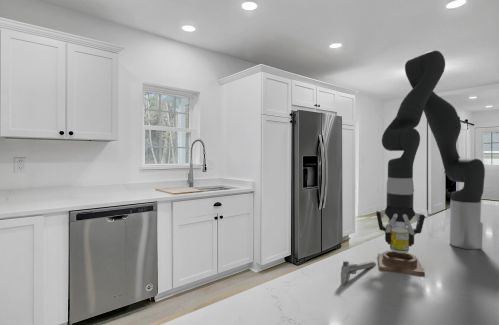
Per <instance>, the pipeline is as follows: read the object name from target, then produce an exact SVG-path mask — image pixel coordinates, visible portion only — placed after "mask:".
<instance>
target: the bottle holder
mask: <svg viewBox="0 0 499 325" xmlns="http://www.w3.org/2000/svg"><path fill="white" fill-rule="evenodd" d="M377 261H378V266H379V267H378V268H379V271H387V272H393V273H400V274H401V273H402V274H410V275H415V276H416V275H417V276H422V277H423V276H425V273H426V272H425V270H424V268H423V266H422V264H421V262H420V260H419V258H418V257H417V256H416V255H414V254H412V253H410V252H407V253H397V252H394V251H392V250H385V251H383V252H382V253H377Z"/></svg>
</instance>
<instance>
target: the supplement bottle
mask: <svg viewBox="0 0 499 325" xmlns="http://www.w3.org/2000/svg"><path fill="white" fill-rule="evenodd" d="M389 249H390V251H394V252H397V253H409V251H410V246H409V230H408V228H407V225H406V223H405V222H398V221H395V222H394V224H393V226H392V228H391V230H390V244H389Z"/></svg>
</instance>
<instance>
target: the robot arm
mask: <svg viewBox="0 0 499 325" xmlns="http://www.w3.org/2000/svg"><path fill="white" fill-rule="evenodd" d="M445 69H446V59H445V57H444V55H443V54H442V52H440V51H439V50H436V49H435V50H430V51H427V52H425V53H423V54H420V55H418V56H415V57H413V58H409V59H408V60H407V61H406V63H405V65H404V72H405V75H406V78H407V81H408V82H409V84H410V87H411V88H412V89H411V90H410V91H409V92H408V93H407V95H406V96H405V97H404V98H403V100H402V101H401V103H400V104H399V108H398V111H397V113H396V116H395V117H394V118H393V120H392V121H391V122H390V124H389V125H388V126H387V127H386V128H385V130H384V132H383V134H382V136H381V143H382V147H383V149H385V150H386V151H390V152H402V154H401V156H400V157H396V158H391V159H389V160H388V163H387V181H386V206H385V209H384V210H376V211H375V213H376V218H377V224H378V229H379V230H380V231H383V232H384V233H385V234H384V235H385V236H384V240H385V243H387V245H390V230H391V228H392V226H393V224H394V222H395V221H398V222H405V223H406V225H407V226H406V227H407V228H408V230H409V247H411V248H412V246H413V245H414V244H415V235H416V234H422V231H423V227H424V226H423V225H424V222H425V218H426V216H425V214H424V213H422V212H421V213H419V212H415V209H414V192H415V189H414V186H415V185H414V180H413V179H414V176H413V175H414V174H413V173H414V162H415V158H416V155H417V151H418V149H419V146H420V144H421V143H420V142H421V135H420V132H419V131H418V130H417V127H418V126H419V124H420V122H421V119H422V116H423V113H424V115H425V118H426V121H427V123H428V126H429V128H430V131H431V134H432V135H433V138H434V140H435V143H436V145H437V148H438V151H439V153H440V154H439V155H440V158H441V162H442V166H443V169H444V172H445V175H446V177H447V178H448V179H449V180H450V181H452V182H456V183H463V187H462V189H459V190H455V191H451V193H450V207H449V208H450V209H449V210H450V211H449V225H450V226H449V244H450V245H451V246H453V247H456V248H458V249H459V248H460V249H465V250H483V235H484V234H483V233H484V232H483V227H484V225H483V222H481V220H482V218H481V216H482V196H483V193H484V189H485V188H484V185H485V177H486V175H485V174H486V168H485V165H484V162H483V161H482V160H481V159H479V158H476V157H475V158H471V157H470V158H467V157H460V155H459V153H458V149H457V141H458V139H459V136H460V134H461V130H462V123H461V120H460V118H459V114H458V112H457V109H456V108H455V107H454V106H453V105H452V104H451V103H450V102H448V101H447V100H446V99H444V98H442V97H441V96H439V95H438V94H436V92H434V90H435V88H436V86H437V85H438V84H439V81H440V80H441V77H442V76H443V75H444V72H445ZM384 215H385V216H387V218H388V221H387V223H386V226H385V225H384V224H383V219H382V218H384ZM414 217H415V219H416V220H417V222H416V225H415V228H413V226H412V224H411V222H410V221H411V220H412V219H413V218H414Z"/></svg>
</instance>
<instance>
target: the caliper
mask: <svg viewBox="0 0 499 325" xmlns="http://www.w3.org/2000/svg"><path fill="white" fill-rule="evenodd" d="M376 265H377V263H375V261H373V260H371V261H366V262H362V263H360V262H359V263H355V262H354V263H353V262H352V263H350V262H349V261H347V260H346V261H343V262H342V265H341V269H340V270H341V272H340V284H341V285H343V286H345V285H346V284H347V283H348V284H349V282H350V278H351V275H354V274H355V275H356V274H357V272H358V271H362V270H365V269H371V268H373V267H375V266H376Z"/></svg>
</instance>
